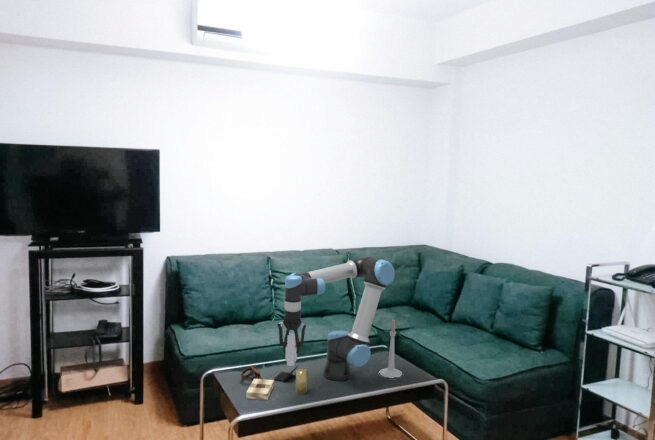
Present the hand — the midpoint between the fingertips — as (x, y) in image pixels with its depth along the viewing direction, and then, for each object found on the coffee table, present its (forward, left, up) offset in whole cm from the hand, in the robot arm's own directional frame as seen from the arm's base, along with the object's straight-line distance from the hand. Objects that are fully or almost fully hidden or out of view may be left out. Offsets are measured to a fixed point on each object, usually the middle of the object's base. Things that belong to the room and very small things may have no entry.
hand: (291, 359), depth 231 cm
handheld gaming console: (+6, -24, -19) cm, 31 cm away
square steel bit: (0, 0, -2) cm, 2 cm away
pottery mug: (+22, -18, -19) cm, 34 cm away
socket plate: (+15, -5, -18) cm, 24 cm away
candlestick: (-48, -38, -19) cm, 64 cm away
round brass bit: (-4, -9, -18) cm, 21 cm away
